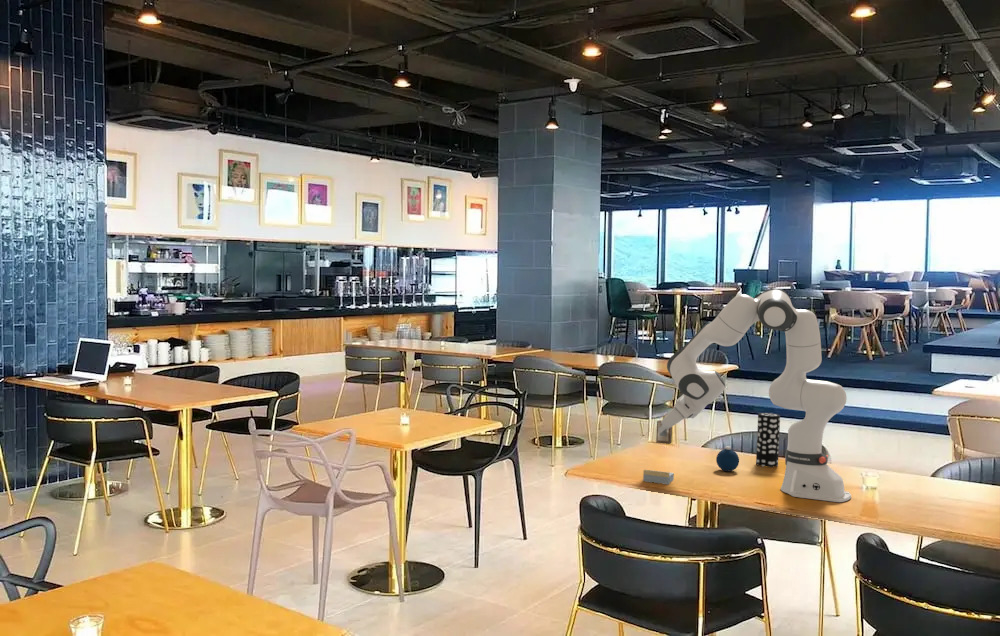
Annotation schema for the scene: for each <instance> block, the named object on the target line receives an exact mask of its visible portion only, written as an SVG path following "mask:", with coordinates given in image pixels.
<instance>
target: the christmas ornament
mask: <svg viewBox="0 0 1000 636" xmlns="http://www.w3.org/2000/svg"><path fill="white" fill-rule="evenodd" d="M715 461H716V464H717V466H718V468H719V469H721V470H722V471H724V472H732V471H735V470H736V469H737V468H738V466H739V464H740V457H739V455H738V453H737V452H736V451H735V450H733V449H732V447H731V445H727V446H725V448H723V449H721V450H720V451H719V452H718V453H717V455H716V459H715Z"/></svg>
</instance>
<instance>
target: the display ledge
mask: <svg viewBox="0 0 1000 636" xmlns="http://www.w3.org/2000/svg"><path fill="white" fill-rule="evenodd" d="M674 474H675V473H674V472H670V471H669V472H668V471H658V470H652V469H643V474H642V475H643V477H642V479H643V480H642V481H643V482H644V481H645V482H646V483H652V482H654V483H653V484H660V483H662V484H661V485H669V484H671V483H672V482H673V481H674V476H675V475H674ZM670 482H671V483H670Z"/></svg>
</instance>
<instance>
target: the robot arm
mask: <svg viewBox="0 0 1000 636" xmlns="http://www.w3.org/2000/svg"><path fill="white" fill-rule="evenodd" d="M757 322H760V323H761V324H762V325H763V326H764V327H765V328H767V329H770V330H774V331H781V332H784V333H785V334H784V335H785V346H786V348H785V349H786V361H785V363H786V364H785V367H784V370H783V371H782V373H781V374H780V375H779V376H778V377H777V378H774V380H772V382H771V384H770V385H769V388H768V397H769V399H770V401H771V402H772V404H773V405H774V406H777V407H780V408H782V409H786V410H793V411H794V410H795V411H802V412H805V417H804V418H803V419H801V420H798V421H796V422H794V423H792V424H791V425H790V426H789V428H788V430H787V448H786V450H785V451H786V452H785V455H784V456H785V457H784V462H785V463H784V464H785V470H784V471H785V472H784V475H783V481H782V485H781V487H780V490H781V491H782V492H783V493H786V494H788V495H790V496H791V497H793V498H795V497H796V498H801V499H811V500H819V501H825V502H834V503H843V502H844V503H845V502H847V501H849V500H851V498H852V494H851V493H850V492H849V491H845V483H844V479H843V477H842V476H841V475H839V473H837V472H836V471H835V470H834V469H832V467H830V465H828V456H829V455H828V454H824V453H823V452H822V447H823V446H822V445H823V438H824V437H823V436H824V432H825V428H826V426H827V424H828V422H829V421H830V420H831V419H832V418H833V417H834V416H835V415H836V414H839V413H840V412H841V411H842V410H843V409H844V408H845V406H846V403H847V392H846V390H845V389H844V387H843V386H842V385H840V384H838V383H835V382H831V381H828V380H818V379H809V378H807V373H810V372H812V371H815V370H816V369H817V368H819V366H820V365H821V364H822V359H823V358H822V342H821V333H820V326H819V322H818V318H817V315H816V314H815V313H814V312H813V311H811V310H808V309H798V308H795V307H794V305H793V304H792V299H791V296H790V295H789V294H788V293H787V291H786V290H784V289H782V288H778V287H772V288H769V289H766V290H765V291H761V292H760V293H758V294H755V296H754V297H752V296H751V295H748V294H745V293H743V294H742V293H739V294H737V295H735V296H734V297H733V298H731V300H729V302H728V303H727V304H726V305H725V306H724V307H723V308H722V309H721V311H720V312H719V313H718V314H717V316H716V317H715V318H714V319H713V320H712V321H711V322H708V323H705V324H704V325H703V326H702V327H701V328H700V329H699V330H698V331H697V333H695V334H694V335H693V337H691V338H690V340H689V341H688V342H687V343H686V344H685V345H684V346H683V347H682V348H681V349H680V350H678V351H677V352H675V353H674V354H672V355H671V357H669V359H668V360H667V363H666V369H667V371H668V373H669V375H670V377H671V378H672V379H673V381H674V383H675V385H676V388H677V389H678V391H679V392H680V393H681V394H682V395H681V396H680V397H678V398H677V399H676V402H675V403H674V406H673V408H672V409H671V410H670V411H669V412H668V413H667V414H666V415H665V416H664V417H663V418H662V419H661V420H662V421H661V423H662V425H661V427H660V428H658V431H659V432H660V433H662V432H663V431H664V430H665V429H669V428H671V427H672V428H673V427H674V426H676V425H677V424H679V423H680V422H681V421H684V420H686V419H687V420H688V419H694V418H696V417H697V416H698V415H699V414H700V413H702V411H704V410H705V408H706V407H707V406H708V405H710V404H711V403H713V402H714V401H715V400H717V398H719V397H720V396H721V394H722V393H723V392H724V390H725V389H726V383H725V381H724V379H723V378H722V376H721V375H720V374H719V372H718V371H716V370H711V371H706V370H701V369H699V367H698V366H697V359H698V357H700V356H701V354H702V353H703V352H704V351H705V350H706V349H707V348H708V347H709V346H710V345H712V344H717V345H719V346H722V347H732V346H735V345H736V344H737V343H738V342H739V341H741V340H742V338H743V337H744V336H745V334H746V333H747V332H748V331H749V329H750V328H751V327H752V325H754V324H755V323H757Z"/></svg>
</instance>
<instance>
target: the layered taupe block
mask: <svg viewBox="0 0 1000 636" xmlns="http://www.w3.org/2000/svg"><path fill="white" fill-rule="evenodd" d="M662 420H663V419H659V420H657V421H656V438H655V439H656V440H655V443H658V444H664V445H670V444H672V441H673V439H672V438H673V437H672V436H673V426H672V427H671V428H669V429H665V430H664V431H663V432H662V433H660V432H659V431H658V428H660V427H661V425H662V423H661V421H662Z"/></svg>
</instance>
